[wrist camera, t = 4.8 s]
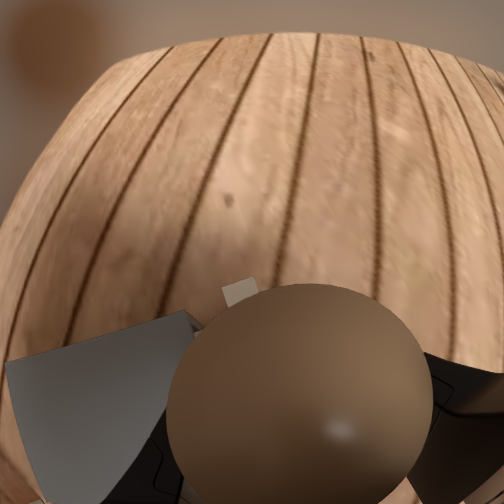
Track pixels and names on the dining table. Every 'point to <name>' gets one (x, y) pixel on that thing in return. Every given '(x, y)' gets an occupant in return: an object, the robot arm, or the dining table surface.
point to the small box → (36, 502)
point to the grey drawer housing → (95, 404)
